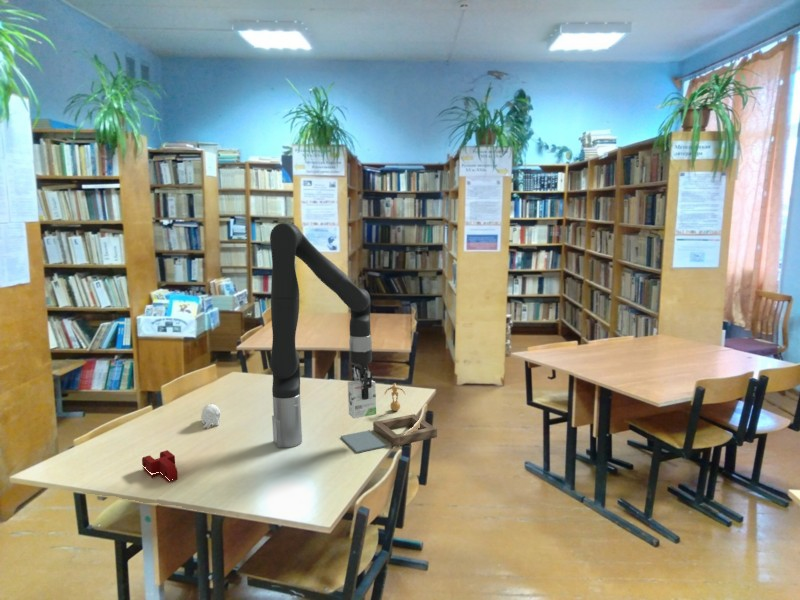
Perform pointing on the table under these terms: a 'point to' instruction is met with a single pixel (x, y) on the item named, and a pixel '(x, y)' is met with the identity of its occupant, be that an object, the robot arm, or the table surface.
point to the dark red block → (161, 466)
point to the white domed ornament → (210, 415)
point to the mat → (363, 441)
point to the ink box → (361, 400)
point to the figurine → (395, 404)
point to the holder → (395, 439)
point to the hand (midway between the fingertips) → (362, 396)
